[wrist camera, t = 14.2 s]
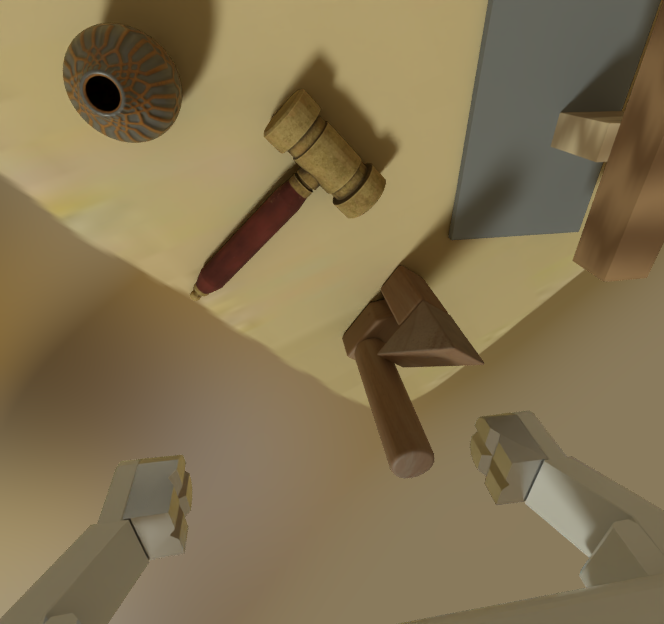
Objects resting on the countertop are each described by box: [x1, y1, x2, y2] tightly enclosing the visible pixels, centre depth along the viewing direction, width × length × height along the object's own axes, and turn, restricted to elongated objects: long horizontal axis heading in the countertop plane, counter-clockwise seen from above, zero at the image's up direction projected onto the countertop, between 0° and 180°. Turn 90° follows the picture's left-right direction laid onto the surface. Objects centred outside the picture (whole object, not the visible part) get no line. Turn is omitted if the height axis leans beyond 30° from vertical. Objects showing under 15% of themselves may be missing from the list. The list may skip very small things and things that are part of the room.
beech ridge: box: [550, 111, 624, 162], centre depth 34 cm, size 3×6×6 cm, turn 90°
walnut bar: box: [573, 0, 664, 282], centre depth 30 cm, size 20×4×4 cm, turn 1°
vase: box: [63, 23, 182, 143], centre depth 27 cm, size 7×7×9 cm
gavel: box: [190, 89, 386, 301], centre depth 36 cm, size 21×5×10 cm
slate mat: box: [449, 0, 661, 240], centre depth 36 cm, size 20×14×1 cm
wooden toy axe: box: [342, 266, 484, 478], centre depth 37 cm, size 4×11×18 cm, turn 146°
